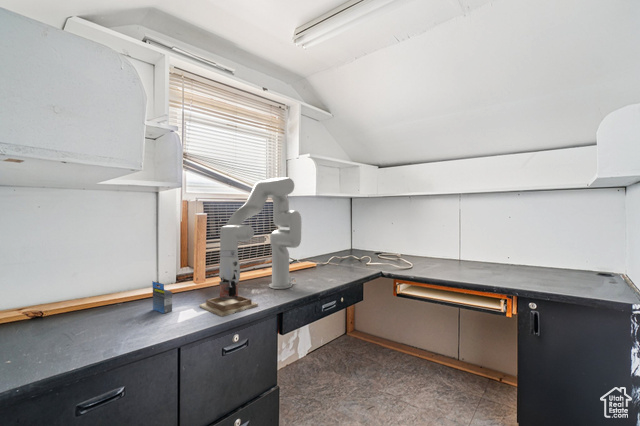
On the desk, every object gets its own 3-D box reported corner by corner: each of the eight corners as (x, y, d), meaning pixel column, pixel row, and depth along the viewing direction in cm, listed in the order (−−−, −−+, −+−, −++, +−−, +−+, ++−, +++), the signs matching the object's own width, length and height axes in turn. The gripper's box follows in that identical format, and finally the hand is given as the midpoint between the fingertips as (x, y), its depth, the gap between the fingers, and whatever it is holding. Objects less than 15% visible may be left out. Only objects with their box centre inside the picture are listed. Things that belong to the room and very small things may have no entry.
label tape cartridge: (172, 311, 129) (172, 282, 129) (163, 313, 126) (163, 284, 125) (160, 307, 134) (160, 279, 133) (152, 309, 130) (151, 281, 130)
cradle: (235, 297, 148) (235, 291, 148) (257, 306, 136) (257, 299, 136) (199, 306, 135) (199, 299, 135) (221, 316, 123) (221, 309, 123)
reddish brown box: (219, 300, 132) (219, 277, 132) (219, 298, 136) (219, 275, 136) (238, 298, 135) (238, 276, 135) (238, 296, 138) (238, 274, 138)
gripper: (247, 254, 132) (247, 296, 133) (226, 250, 143) (226, 289, 144) (232, 256, 127) (232, 300, 127) (211, 252, 138) (211, 292, 138)
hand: (228, 294), depth 135 cm, fingers closed on reddish brown box, 4 cm apart
